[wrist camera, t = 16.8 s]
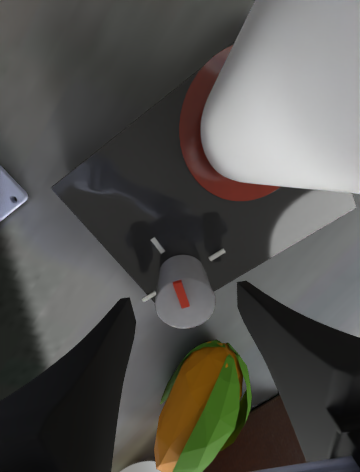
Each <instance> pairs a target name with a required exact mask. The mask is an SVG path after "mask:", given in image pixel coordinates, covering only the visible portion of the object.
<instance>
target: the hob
mask: <svg viewBox="0 0 360 472" xmlns="http://www.w3.org/2000/svg"><path fill="white" fill-rule="evenodd" d="M234 43H235V42H233V43H232V44H231V45H230V46H232V45H234ZM230 46H228V47H230ZM228 47H227V48H228ZM200 70H201V69H199V70H198V71H197V72H196V73H194V74H193V75H192V76H191V77H189V78H188V79H187V80H186V81H184V82H183V83H182V84H181V85H179V86H178V87H177V88H175V89H174V90H173V91H172V92H170V93H169V94H168V95H167V96H165V97H164V98H163V99H162V100H160V101H159V102H158V103H157V104H155V105H154V106H153V107H152V108H150V109H149V110H148V111H147V112H145V113H144V114H143V115H142V116H140V117H139V118H138V119H137V120H135V121H134V122H133V123H131V124H130V125H129V126H128V127H126V128H125V129H124V130H123V131H121V132H120V133H119V134H118V135H116V136H115V137H114V138H113V139H111V140H110V141H109V142H108V143H106V144H105V145H104V146H103V147H101V148H100V149H99V150H98V151H96V152H95V153H94V154H92V155H91V156H90V157H89V158H87V159H86V160H85V161H84V162H82V163H81V164H80V165H79V166H77V167H76V168H75V169H74V170H72V171H71V172H70V173H69V174H67V175H66V176H65V177H64V178H62V179H61V180H60V181H59V182H57V183H56V184H55V185H53V186H52V187H51V189H52V190H53V191H54V192H55V193H56V194H57V195H58V197H59V198H60V199H61V200H62V201H63V202H64V203H65V204H66V205H67V207H68V208H69V209H70V210H71V211H72V212H73V213H74V214H75V215H76V216H77V218H78V219H79V220H80V221H81V222H82V223H83V224H84V225H85V226H86V227H87V229H88V230H89V231H90V232H91V233H92V234H93V235H94V236H95V237H96V239H97V240H98V241H99V242H100V243H101V244H102V245H103V246H104V247H105V248H106V250H107V251H108V252H109V253H110V254H111V255H112V256H113V257H114V258H115V260H116V261H117V262H118V263H119V264H120V265H121V266H122V267H123V268H124V269H125V271H126V272H127V273H128V274H129V275H130V276H131V277H132V278H133V279H134V281H135V282H136V283H137V284H138V285H139V286H140V287H141V288H142V289H143V290H144V292H145V293H146V294H147V296H145V297H144V298H142V301H143V302H146V301H147V300H149V299H150V298H151V299H152V300H153V301H154V303H155V298H156V289H157V280H158V272H159V269H160V267H161V266H162V264H163V263H164V262H165V261H166V260H168V259H169V258H171V257H174V256H177V255H189V256H192V257H194V258H196V259H198V260H199V261H200V262H201V263H202V264H203V266H204V268H205V271H206V273H207V276H208V278H209V281H210V284H211V286H212V289H213V291H216V290H217V289H219V288H221V287H222V286H224V285H226V284H228V283H229V282H231V281H233V280H234V279H236V278H238V277H239V276H241V275H243V274H245V273H246V272H248V271H250V270H251V269H253V268H255V267H257V266H258V265H260V264H262V263H263V262H265V261H267V260H268V259H270V258H272V257H274V256H275V255H277V254H279V253H280V252H282V251H284V250H286V249H287V248H289V247H291V246H292V245H294V244H296V243H297V242H299V241H301V240H303V239H304V238H306V237H308V236H309V235H311V234H313V233H315V232H316V231H318V230H320V229H321V228H323V227H325V226H327V225H328V224H330V223H332V222H333V221H335V220H337V219H338V218H340V217H342V216H344V215H345V214H347V213H349V212H350V211H352V210H354V209H356V208H357V206H356V203H355V200H354V196H353V193H345V192H335V191H324V190H313V189H303V188H292V187H282V186H281V187H280V188H278V189H277V190H276V191H274V192H272V193H270V194H268V195H266V196H264V197H261V198H258V199H254V200H249V201H232V200H227V199H223V198H220V197H218V196H215V195H213V194H212V193H210V192H208V191H207V190H206V189H204V188H203V187H202V186H201V185H200V184H199V183H198V182H197V181H196V180H195V179H194V177H193V176H192V174H191V173H190V171H189V169H188V167H187V165H186V163H185V161H184V158H183V155H182V151H181V147H180V139H179V122H180V114H181V109H182V105H183V102H184V99H185V96H186V93H187V91H188V89H189V87H190V85H191V83H192V81H193V80H194V78H195V76H196V75H197V73H198V72H199V71H200Z"/></svg>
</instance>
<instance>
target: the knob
mask: <svg viewBox="0 0 360 472" xmlns="http://www.w3.org/2000/svg"><path fill="white" fill-rule="evenodd" d="M215 305H216V298H215V294H214V291H213V289H212V286H211V284H210V281H209V278H208V276H207V273H206V271H205V268H204V266H203V264H202V263H201V262H200V261H199V260H198V259H196V258H194V257H192V256H189V255H177V256H174V257H171V258H169V259H168V260H166V261H165V262H164V263H163V264H162V266H161V267H160V269H159V272H158V280H157V289H156V298H155V309H156V312H157V314H158V316H159V317H160V319H161V320H162V321H163V322H165V323H166V324H168V325H170V326H172V327H176V328H192V327H195V326H198V325H200V324H202V323H204V322H205V321H206V320H207V319H208V318H209V317H210V316H211V315H212V313H213V311H214V309H215Z"/></svg>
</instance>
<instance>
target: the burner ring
mask: <svg viewBox="0 0 360 472" xmlns="http://www.w3.org/2000/svg"><path fill="white" fill-rule="evenodd" d="M232 47H233V45H232V46H230V47H228V48H226V49H224V50H222V51H221V52H219V53H218V54H216V55H215V56H213V57H212V58H211V59H210V60H209V61H208V62H207V63H206V64H205V65H204V66H203V67H202V68H201V70H200V71H199V72H198V73H197V75H196V76H195V78H194V80H193V81H192V83H191V85H190V87H189V89H188V91H187V93H186V96H185V99H184V102H183V105H182V109H181V114H180V122H179V139H180V147H181V151H182V155H183V158H184V161H185V163H186V165H187V167H188V169H189V171H190V173H191V174H192V176H193V177H194V179H195V180H196V181H197V182H198V183H199V184H200V185H201V186H202V187H203V188H204V189H206V190H207V191H208V192H210V193H212V194H213V195H215V196H218V197H220V198H223V199H227V200H232V201H249V200H254V199H258V198H261V197H264V196H266V195H268V194H270V193H272V192H274V191H276V190H277V189H278V188H280V187H281V186H271V185H261V184H252V183H243V182H238V181H234V180H231V179H229V178H226V177H224V176H223V175H221V174H219V173H218V172H217V171H216V170H215V169H214V168H213V167H212V166H211V164H210V162H209V161H208V159H207V157H206V155H205V152H204V150H203V146H202V142H201V131H200V130H201V118H202V114H203V110H204V107H205V104H206V101H207V99H208V97H209V94H210V92H211V90H212V88H213V86H214V84H215V82H216V80H217V78H218V75H219V73H220V71H221V69H222V67H223V65H224V63H225V61H226V59H227V57H228V55H229V53H230V51H231V49H232Z"/></svg>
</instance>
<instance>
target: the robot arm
mask: <svg viewBox="0 0 360 472" xmlns="http://www.w3.org/2000/svg"><path fill="white" fill-rule="evenodd" d="M14 197H16V198H17V201H15V199H14ZM27 199H28V194H27V192H26V191H25V190H24V189H23V188H22V187H21V186H20V185H19V184H18V183H17V182H16V181H15V180H14V179H13V178H12V177H11V176H10V175H9V174H8V172H7V171H6V170H5V169H4V168H3V167H2V166H1V165H0V221H2V220H3V219H4V218H5V217H7V216H8V215H9V214H10V213H12V212H13V211H14V210H15V209H17V208H18V207H19V206H20V205H22V204H23V203H24V202H25V201H27ZM237 302H238V309H239V312H240V314H241V317H242V319H243V322H244V323H245V325H246V327H247V329H248V331H249V333H250V334H251V336H252V338H253V340H254V342H255V344H256V345H257V347H258V349H259V351H260V353H261V354H262V356H263V358H264V360H265V362H266V364H267V366H268V369H269V371H270V373H271V376H272V378H273V380H274V382H275V385H276V387H277V389H278V392H279V394H280V396H281V399H282V401H283V403H284V406H285V408H286V411H287V413H288V416H289V418H290V421H291V423H292V426H293V428H294V431H295V433H296V436H297V438H298V441H299V444H300V446H301V449H302V451H303V454H304V457H305V459H306V462H307V463H301V464H295V465H289V466H282V467H276V468H270V469H263V470H257V471H251V472H360V338H359V337H356V336H353V335H350V334H347V333H344V332H342V331H339V330H336V329H334V328H331V327H329V326H326V325H324V324H321V323H319V322H317V321H314V320H312V319H310V318H308V317H306V316H304V315H302V314H300V313H298V312H296V311H294V310H292V309H290V308H288V307H286V306H285V305H283V304H281V303H279V302H278V301H276V300H275V299H273V298H271V297H270V296H268V295H267V294H265V293H264V292H262V291H261V290H259V289H258V288H256V287H255V286H253V285H252V284H250V283H249V282H247V281H241V282H237ZM135 326H136V320H135V316H134V312H133V308H132V305H131V301H130V297H129V298H122V299H120V300H119V301H118V302H117V303H116V304H115V305H114V307H113V308H112V309H111V310H110V311H109V312H108V313H107V315H106V316H105V317H104V318H103V319H102V320H101V321H100V322H99V323H98V324H97V325H96V326H95V328H94V329H93V330H92V331H91V332H90V333H89V334H88V335H87V336H86V337H85V338H84V339H83V340H82V341H80V342H79V343H78V344H77V345H76V346H75V347H74V348H73V349H72V350H70V351H69V352H68V353H67V354H66V355H64V356H63V357H62V358H61V359H59V360H58V361H57V362H56V363H54V364H53V365H52V366H51V367H49V368H48V369H47V370H45V371H44V372H43V373H41V374H40V375H39V376H37V377H36V378H34V379H33V380H32V381H30V382H29V383H27V384H26V385H24V386H23V387H21V388H20V389H19V390H17V391H15V392H14V393H12V394H11V395H9V396H8V397H6V398H4V399H3V400H1V401H0V472H111V468H112V458H113V450H114V442H115V434H116V426H117V419H118V412H119V405H120V399H121V393H122V386H123V381H124V377H125V372H126V368H127V364H128V360H129V356H130V352H131V348H132V344H133V340H134V334H135Z"/></svg>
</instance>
